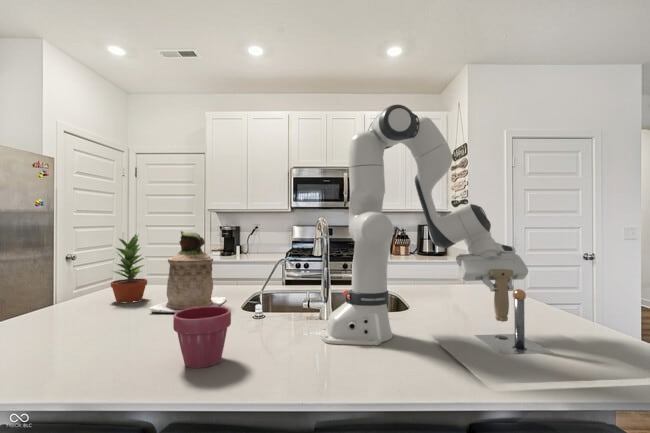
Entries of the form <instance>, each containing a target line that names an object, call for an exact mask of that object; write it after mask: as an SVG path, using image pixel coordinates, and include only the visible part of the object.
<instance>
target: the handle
mask: <svg viewBox="0 0 650 433" xmlns="http://www.w3.org/2000/svg"><path fill="white" fill-rule="evenodd" d="M489 273H490V275H492V276H494V277H495V280H494V284H496V286H497V288H498V289H497V290H496V291H494V296H493V297H494V298H493V300H494V301H493V307H494V308H493V309H494V314H495V319H496V321H497V322H508V319H509V317H508V315H509V310H510V298H509V291H508V278H509V277H511V276H513V270H507V269H490V270H489Z"/></svg>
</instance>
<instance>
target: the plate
mask: <svg viewBox="0 0 650 433" xmlns="http://www.w3.org/2000/svg"><path fill="white" fill-rule="evenodd" d="M473 336H474V337H476V338H477V339H479V340H481V341H482V342H483V343H484V344H486V345H488V346H490V347H491V348H492V349H494V350H496V351H497V352H499V353H500V354H502V355H529V354H530V355H532V354H533V355H537V354H554V353H555V352H554V351H551V350H550V349H547V348H546V347H544V346H542V345H540V344H538V343H536V342H534V341H533V340H530V339H528V338H526V337H525V349H523V350H521V349H516V348H515V333H508V334H507V333H505V334H504V333H501V334H498V333H497V334H473Z"/></svg>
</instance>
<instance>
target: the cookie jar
mask: <svg viewBox="0 0 650 433" xmlns="http://www.w3.org/2000/svg"><path fill="white" fill-rule="evenodd" d="M180 235H181V236H180V239H179V240H180V241H179V245H180V249H181V250H180V251H179V252H177V253H176V254H175V255H174V256H172V257H169V258H167V262H168V264H169V267H168V268H169V273H168V278H167V285H166V297H167V300H166V301H165V302H162V303H158V304H156V305H153V306H150V307H148V310H149V311H150V314H151V313H152V312H153V313H177V312H179V311H181V310H185V309H189V308H195V307H205V306H221V305H222V304H224V303H225V302H226V300H227V298H226V296H214V297H213V296H212V295H213V290H214V281H213V273H212V272H213V262H214V258H213V257H212V256H210V255H209V253H207V252H204V251H203V250H202V246H203V247H204V245H205V244H206V242H205V239H204V237H202V236H201V235H200V234H199V233H197V232H186V231H183V230H180ZM153 313H152V314H153Z"/></svg>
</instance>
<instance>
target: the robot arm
mask: <svg viewBox="0 0 650 433" xmlns="http://www.w3.org/2000/svg"><path fill="white" fill-rule="evenodd" d="M400 143H401V144H403V145H404V146H406V147H407V148H408V149H409V151H410V152H411V154H412V157H413V159H414V160H415V164H416V165H417V167H416V168H417V174H416V175H415V177H414V184H415V188H416V192H417V196H418V199H419V202H420V204H421V208H422V211H423V215H424V217H425V220H426V223H427V228H428V233H429V237H430V239H431V242H432V243H433V244H434V245H435V246H436V247H439V248H442V249H448V248H450V247H453V246H454V245H456V244H458V243H459V242H462V241H464V243H465V245H466V246H467V251H468V253H466V254H465V253H464V254H463V253H460V254H458V255H457V256H456V257H455V261H456V264H457V265H458V267H459V274H460V276H461V278H462V280H464V281H465V282H473V281H474V282H477V281H479V282H480V281H482V284H484V285H485V286H486V287H488V289H489V290H490V292H494V293H495V291H496V290H497V289H498V288H497V286H496V284H495V283H493V282H492V281H495V277H494V276H492V275H490V273H489V270H490V269H507V270H513V276H511V277H509V278H508V292H512V291H514V288H515V287H514V286H513V281H518V280H524V279H526V277H527V276H528V274H529V269H528V266H527V265H526V263H525V262H524V260H523V259H522V257H521V256H520V255H518V254H517V253H516V252H517V250H516V248H515V247H514V246H512V245H511V246H510V245H508V244H507V245H506V244H503V243H500V242H496V240H495V238H493V237H492V233H491V227H492V226H491V224H492V223H491V221H490V220H489V219H488V217H487V214H486V212H485V210H484V209H483V207H481V206H479V205H477V204H473V203H470V204H467V205H465V206H463V207H460V208H458V209H456V210H455V211H452V212H450V213H448V214H446V215H443V216H439V214H438V211H437V209H436V206H435V203H434V200H433V196H432V194H433V189H434V188H435V186H436V185H437V183H438V182H439V181H440V180H441V179H442V178H443V177H444V176H445V175H446V174H447V173H448V171H449V170H450V168H451V166H452V164H453V154H452V151H451V149H450V147H449V144H448V143H447V140H446V139H445V137H444V135H443V134H442V132H441V131H440V129H439V128H438V127H437V125H436V124H435V122H434V121H433V120H432V119H431V118H430V117H427V116H421V117H420V116H418V115H417V114H415V113H414V112H413V111H412V110H411V109H409V108H408V107H407V106H405V105H402V104H392V105H389V106H387V107H386V108H384V109H383V110H382V111H381V112H379V114H377V116H375V118H374V120H373V121H371V123H370V125H369V128H368V129H367V131H362V132H358V133H356V134H355V135H354V136H352V138H351V140H350V144H349V150H348V151H349V152H348V179H349V182H348V183H349V201H348V202H349V204H348V232H349V235H350V237H351V239H352V240H353V241H354V248H353V257H352V258H353V259H352V263H351V289H349V290H348V289H344V290H342V295H343V296H344V299H345V302H344V303H342V304H341V305H340V306H338V307H337V308H336V309H335V310H333V311H332V312H331V313H330V314H329V317H328V319H327V320H328V321H327V326H325V327H323V328H322V329H321V330H320V338H321V340H322V341H324V342H325V343H327V344H334V345H335V344H338V345H361V346H363V345H365V346H378V345H381V344H382V343H383V342H386V341H389V340H391V339H392V338H393V333H392V328H391V325H390V324H391V323H390V318H389V316H390V315H389V308H390V307H389V305H390V294H389V290H388V261H389V255H390V248H391V241H392V236H393V234H394V227H393V223H392V220H390V218H389V217H388V216H387V215H385V213H383V205H384V197H385V194H386V192H385V191H386V184H385V183H386V182H385V181H386V180H385V163H384V160H385V159H384V154H385V150H387V149H390V148H392V147H394V146H395V145H398V144H400Z"/></svg>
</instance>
